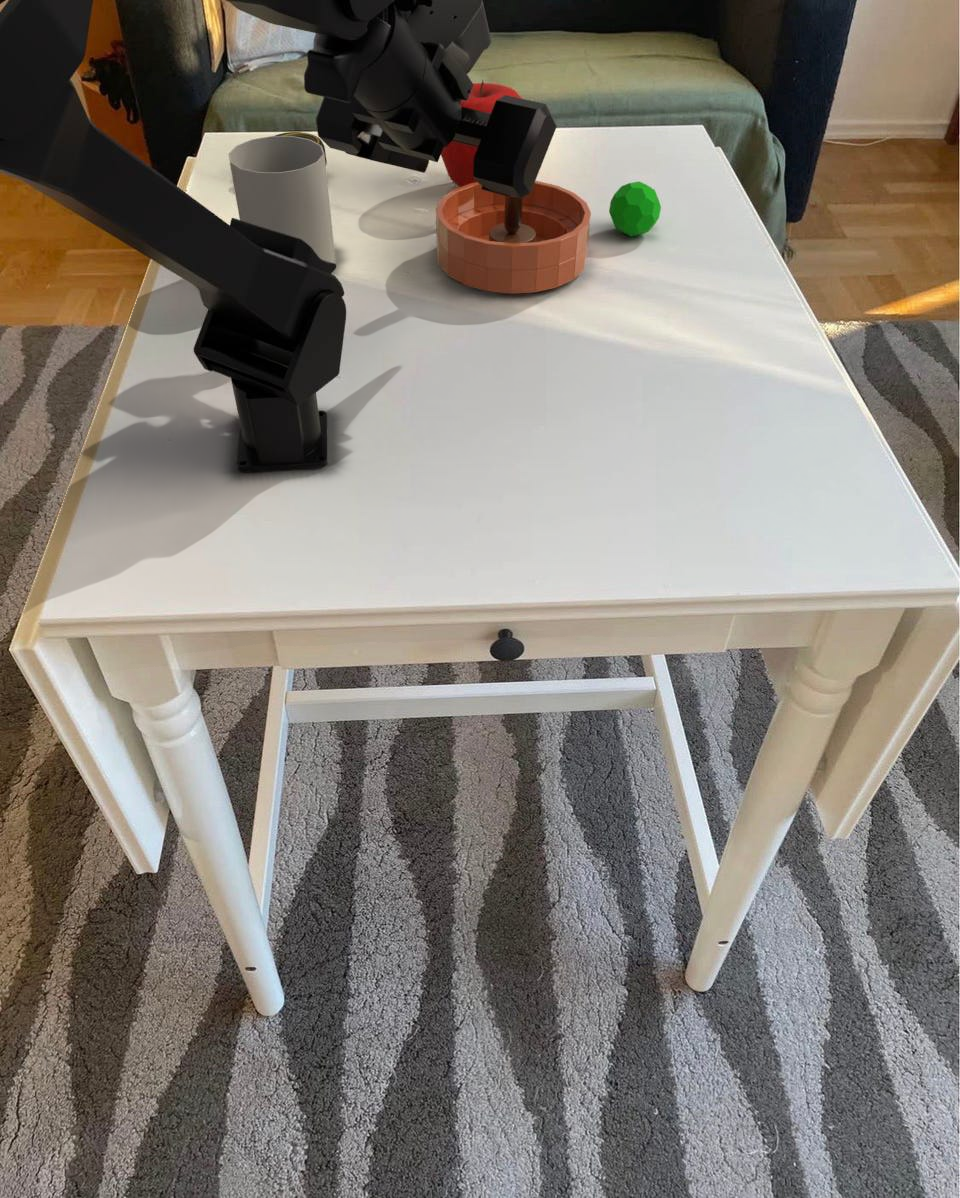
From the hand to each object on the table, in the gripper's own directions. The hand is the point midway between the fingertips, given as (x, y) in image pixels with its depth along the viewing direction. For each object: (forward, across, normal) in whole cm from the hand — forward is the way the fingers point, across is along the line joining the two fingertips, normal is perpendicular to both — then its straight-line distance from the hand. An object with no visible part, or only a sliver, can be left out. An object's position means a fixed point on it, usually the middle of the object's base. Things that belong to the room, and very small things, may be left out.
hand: (471, 178), depth 80 cm
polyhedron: (+21, -7, -6) cm, 23 cm away
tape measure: (+15, +30, 0) cm, 33 cm away
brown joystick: (+12, 0, +2) cm, 12 cm away
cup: (+5, +18, +10) cm, 21 cm away
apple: (+22, +11, -7) cm, 26 cm away
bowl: (+13, 0, +2) cm, 13 cm away
